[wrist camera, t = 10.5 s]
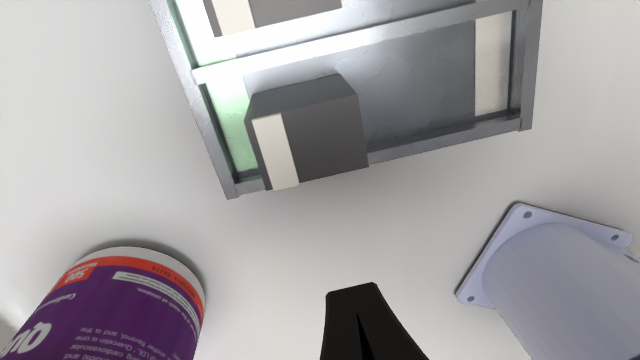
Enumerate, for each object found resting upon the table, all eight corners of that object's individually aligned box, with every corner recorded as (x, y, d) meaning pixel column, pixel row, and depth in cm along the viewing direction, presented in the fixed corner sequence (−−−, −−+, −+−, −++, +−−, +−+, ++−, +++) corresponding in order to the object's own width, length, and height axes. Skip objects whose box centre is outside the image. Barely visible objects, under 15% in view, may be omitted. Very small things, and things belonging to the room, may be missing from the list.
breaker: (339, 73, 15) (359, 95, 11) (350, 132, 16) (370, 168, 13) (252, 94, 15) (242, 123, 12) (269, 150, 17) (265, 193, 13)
